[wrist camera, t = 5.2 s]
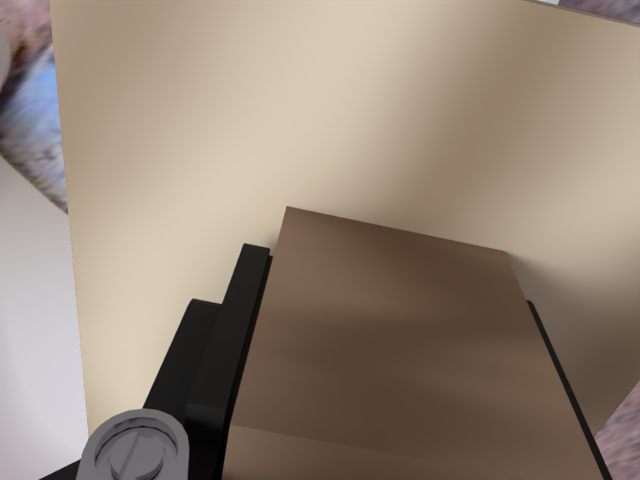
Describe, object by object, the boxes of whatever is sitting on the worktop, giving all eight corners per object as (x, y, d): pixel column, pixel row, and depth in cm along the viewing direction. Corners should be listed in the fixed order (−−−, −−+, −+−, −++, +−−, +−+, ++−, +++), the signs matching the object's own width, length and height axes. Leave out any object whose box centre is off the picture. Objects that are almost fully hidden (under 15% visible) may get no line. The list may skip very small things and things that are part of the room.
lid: (794, 56, 9) (1478, 273, 4) (513, 462, 16) (595, 753, 11) (94, -107, 9) (-411, -153, 3) (114, 388, 16) (-26, 656, 10)
